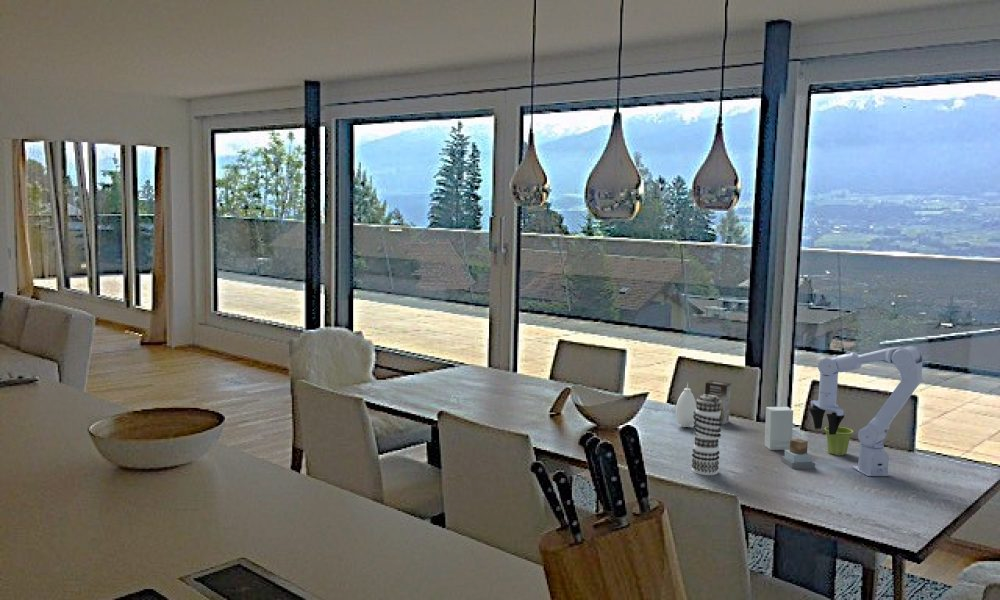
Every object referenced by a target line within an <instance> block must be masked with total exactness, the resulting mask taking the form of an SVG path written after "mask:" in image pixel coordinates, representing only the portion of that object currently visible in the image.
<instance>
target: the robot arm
mask: <svg viewBox="0 0 1000 600" xmlns="http://www.w3.org/2000/svg"><path fill="white" fill-rule="evenodd" d="M924 360H925V359H924V357H923V355H922V352H921V350H920V349H919V348H918V347H916V346H915V345H906V346H904V347H903V346H896V347H887V348H883V349H880V350H876V351H875V350H874V351H871V352H867V353H863V354H859V353H858V352H855V351H853V352H852V350H850V351H849V350H848V351H845V353H844V354H838V355H837V354H833V355H832V356H830V357H825V358H823V359H820V360H819V362H818V364H817V369H818V371H819V374H820V375H819V382H818V383H819V384H818V387H819V388H818V399H817V400H814V399H813V400H810V407H809V408H808V409H809V412H810V415H811V417H812V421H813V426H814V429H815V430H817V429H818V430H821V429H822V425H823V419H824V416H825V412H829V413H826V417H827V420H828V427H829V434H830V435H834V434H836V432H837V429H838V427H840V424H841V422H842V421H843V419H844V418H845V415H844V409H842V408H841V407H839V405H838V404H837V397H838V396H837V395H838V384H839V383H838V379H839V373H846V372H850V371H854V370H859V369H860V368H861V367H862V365H864V364H869V363H875V362H880V361H885V362H887V363H889V364H892V363H893V365H894V367H896V369H897V370H898V372H899V374H900V376H901V380H900V382H899V383H898V384H897V386H896V387H895V388H894V390H893V391H892V392H891V394H890V396H889V397H888V398H887V400H886V401H884V402H885V403H883V405H882V406H881V408H880V409H879V411H878V412H877V413H876V414H875V416H874V417H873V418H872V419H871V420H870V421H869V422H868V423H867V425H865V426H864V427H862V428H860V429H859V430H858V431H857V439H858V441H859V450H858V465H855V466H854V465H853V466H852V468H853V469H854V470H856V471H858V472H859V473H861V474H864V475H865V476H867V477H890V476H891V474H890V473H889V462H890V461H889V460H890V459H889V458H890V457H889V455H888V453H887V451H886V450H885V449H884V448H885V446H884V445H885V444H884V440H886V438H887V434H888V431H889V428H890V427H891V423H892V422H893V421H894V419H895V418H896V416H897V415H898V414H899V412H900V411H901V410H902V408H903V407H904V406H905V405H906V403H907V401H909V399H910V398H911V396H912V395H913V393H914V392H915V390H916V389H917V388H918V387H919V385H920V384H921V382H922V379H923V377H922V376H923V363H924Z"/></svg>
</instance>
